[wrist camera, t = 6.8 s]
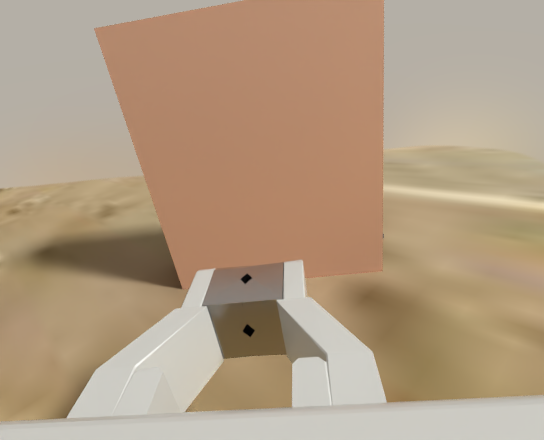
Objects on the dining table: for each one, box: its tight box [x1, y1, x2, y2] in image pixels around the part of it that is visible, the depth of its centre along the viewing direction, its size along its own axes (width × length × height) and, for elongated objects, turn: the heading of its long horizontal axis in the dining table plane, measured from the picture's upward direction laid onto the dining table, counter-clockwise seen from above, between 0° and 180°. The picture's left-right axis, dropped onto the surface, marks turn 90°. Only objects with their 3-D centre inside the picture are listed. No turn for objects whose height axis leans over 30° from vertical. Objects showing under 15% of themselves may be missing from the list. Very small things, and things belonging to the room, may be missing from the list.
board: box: [94, 0, 384, 289], centre depth 18 cm, size 3×12×14 cm, turn 88°
